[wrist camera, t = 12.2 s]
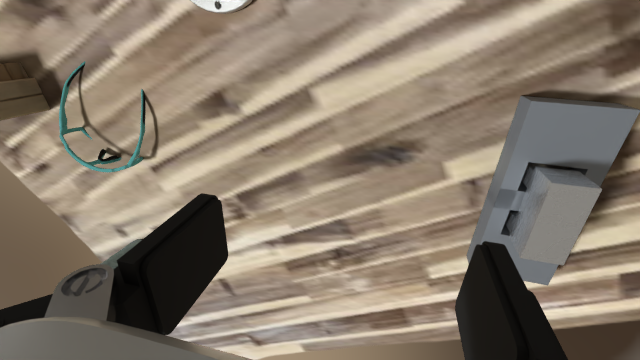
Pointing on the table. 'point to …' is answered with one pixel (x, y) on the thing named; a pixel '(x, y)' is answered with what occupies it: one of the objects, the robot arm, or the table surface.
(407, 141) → the table surface
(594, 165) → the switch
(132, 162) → the sunglasses
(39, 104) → the block tower
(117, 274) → the robot arm
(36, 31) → the table surface
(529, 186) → the grey concrete brick
